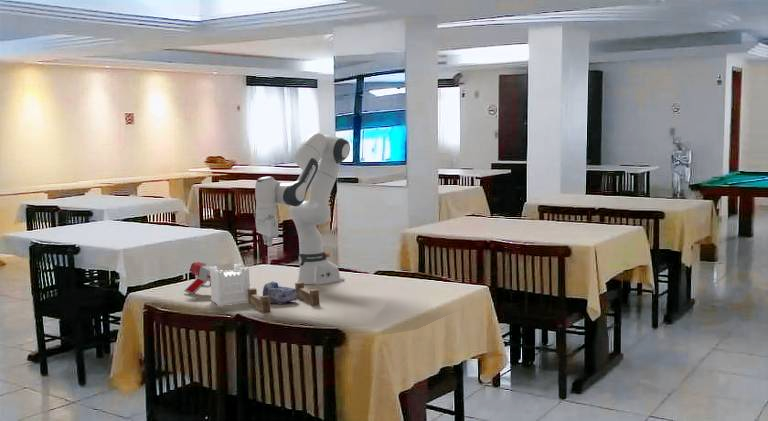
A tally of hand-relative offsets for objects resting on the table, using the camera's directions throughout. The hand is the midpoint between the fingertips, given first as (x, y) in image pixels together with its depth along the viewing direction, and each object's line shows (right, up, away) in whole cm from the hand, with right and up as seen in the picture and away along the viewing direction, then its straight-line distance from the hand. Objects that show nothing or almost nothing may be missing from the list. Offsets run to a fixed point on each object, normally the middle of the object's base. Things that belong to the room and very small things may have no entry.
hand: (268, 245), depth 342 cm
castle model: (-16, -25, -3) cm, 29 cm away
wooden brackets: (+8, -24, -13) cm, 29 cm away
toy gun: (-25, -23, +12) cm, 36 cm away
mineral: (+6, -24, -9) cm, 27 cm away
